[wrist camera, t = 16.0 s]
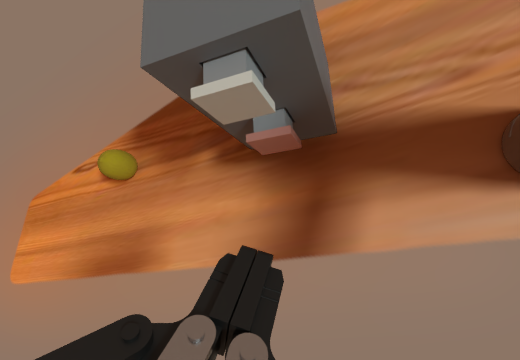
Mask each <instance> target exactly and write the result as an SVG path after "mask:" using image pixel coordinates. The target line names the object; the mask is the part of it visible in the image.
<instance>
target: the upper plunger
mask: <svg viewBox="0 0 520 360" xmlns="http://www.w3.org/2000/svg"><path fill="white" fill-rule="evenodd" d="M191 100H192V101H194V102H195V103H196V104H197V105H199V106H200V107H201V108H203V109H204V110H205V111H206V112H208V113H209V114H210V115H212V116H213V117H214V118H215V119H217V120H218V121H219V122H221V123H222V124H223V125H225V124H229V123H233V122H238V121H242V120H246V119H250V118H255V117H259V116H263V115H267V114H272V113H276V112H275V102H274V101H273V100H272V98H271V97H270V95H269V94H268V92H267V91H266V90H265V88H264V85H263V71H262V69H261V68H260V66H259V64H258V63H257V61H256V60H255V58H254V57H253V55H252V53H251V52H250V50H249V49H248V47H245V48H242V49H239V50H236V51H233V52H230V53H227V54H224V55H221V56H218V57H215V58H212V59H209V60H206V61H203V85H200V86H197V87H194V88H191Z"/></svg>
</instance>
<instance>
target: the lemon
mask: <svg viewBox="0 0 520 360" xmlns="http://www.w3.org/2000/svg"><path fill="white" fill-rule="evenodd" d="M137 167H138V166H137V161H136V159H135V158H134V157H133V156H132V155H131V154H129V153H128V152H125V151H122V150H116V149H113V150H107V151H105V152H103V153H102V154H101V155H100V157H99V159H98V168H99V170H100V171H101V172H102V173H103V174H104V175H106V176H107V177H109V178H112V179H116V180H126V179H129V178H131V177H132V176H133V175H134V174H135V173H136V171H137Z"/></svg>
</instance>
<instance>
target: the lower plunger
mask: <svg viewBox="0 0 520 360" xmlns="http://www.w3.org/2000/svg"><path fill="white" fill-rule="evenodd" d="M275 112H276V113H272V114H267V115H263V116H259V117H255V118H253V127H254V133H251V134H246V143H248V144H249V145H250V146H252V147H253V148H254V149H255V150H257V151H258V152H259V153H261V154H262V155H266V154H271V153H277V152H283V151H288V150H294V149H299V148H302V144H301V140H300V138H299V137H298V136H297V134H296V133H295V131H294V130H293V122H292V116H291V115H290V113H289V112H288V110H287V109H286V107H284V108H280V109H276V110H275Z"/></svg>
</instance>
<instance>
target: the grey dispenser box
mask: <svg viewBox="0 0 520 360" xmlns="http://www.w3.org/2000/svg"><path fill="white" fill-rule="evenodd" d="M245 47H248V49H249V50H250V52H251V53H252V55H253V57H254V58H255V60H256V61H257V63H258V64H259V66H260V68H261V69H262V71H263V85H264V88H265V90H266V91H267V92H268V94H269V95H270V97H271V98H272V100H273V101H274V102H275V110H276V109H280V108H284V107H286V109H287V110H288V112H289V113H290V115H291V116H292V122H293V130H294V131H295V133H296V134H297V136H298V137H299V138H300V140H303V139H309V138H314V137H319V136H324V135H330V134H335V133H337V130H336V122H335V115H334V107H333V100H332V92H331V85H330V77H329V69H328V62H327V58H326V54H325V49H324V45H323V41H322V36H321V32H320V28H319V23H318V19H317V15H316V10H315V6H314V2H313V0H144V5H143V26H142V45H141V68H142V69H144V70H145V71H146V72H148V73H149V74H150V75H152V76H153V77H154V78H156V79H157V80H158V81H160V82H161V83H163V84H164V85H165V86H166V87H168V88H169V89H170V90H172V91H173V92H174V93H176V94H177V95H178V96H180V97H181V98H182V99H184V100H185V101H187V102H188V103H189V104H191V105H192V106H193V107H195V108H196V109H197V110H199V111H200V112H201V113H203V114H204V115H205V116H207V117H208V118H209V119H211V120H212V121H213V122H215V123H216V124H217V125H219V126H220V127H221V128H223V129H224V130H226V131H227V132H228V133H230V134H231V135H232V136H234V137H235V138H236V139H238V140H239V141H240V142H242V143H243V144H244V145H246V146H247V147H248V148H250V149H254V148H253V147H252V146H250V145H249V144H248V143H246V134H251V133H254V127H253V118H250V119H246V120H242V121H238V122H233V123H229V124H225V125H223V124H222V123H221V122H219V121H218V120H217V119H215V118H214V117H213V116H212V115H210V114H209V113H208V112H206V111H205V110H204V109H203V108H201V107H200V106H199V105H197V104H196V103H195V102H194V101H192V100H191V88H194V87H197V86H200V85H203V61H206V60H209V59H212V58H215V57H218V56H221V55H224V54H227V53H230V52H233V51H236V50H239V49H242V48H245Z"/></svg>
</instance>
